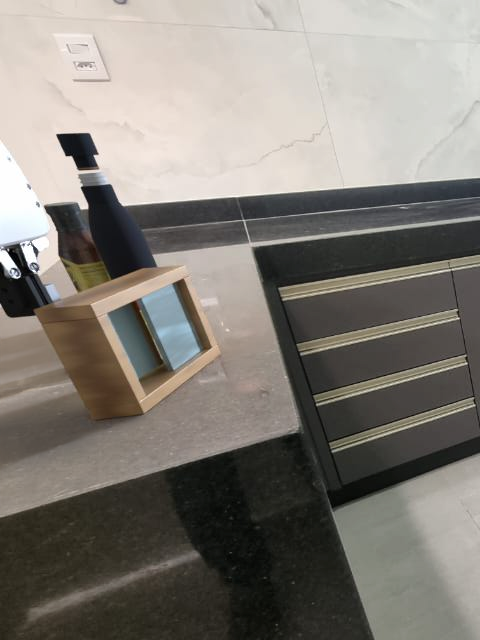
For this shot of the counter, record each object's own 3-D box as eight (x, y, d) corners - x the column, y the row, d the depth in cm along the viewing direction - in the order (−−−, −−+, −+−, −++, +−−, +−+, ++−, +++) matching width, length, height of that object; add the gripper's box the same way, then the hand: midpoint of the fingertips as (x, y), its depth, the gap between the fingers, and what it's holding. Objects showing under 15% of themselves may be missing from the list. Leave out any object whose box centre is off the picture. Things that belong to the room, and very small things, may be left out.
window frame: (92, 420, 59) (32, 309, 53) (181, 358, 75) (142, 268, 69) (144, 414, 60) (90, 304, 54) (221, 353, 76) (185, 264, 70)
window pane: (87, 393, 61) (31, 287, 56) (129, 367, 68) (82, 270, 62) (126, 388, 62) (74, 283, 57) (164, 363, 68) (120, 267, 63)
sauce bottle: (101, 315, 96) (46, 202, 88) (144, 309, 98) (94, 199, 90) (84, 325, 91) (24, 206, 82) (130, 319, 93) (76, 203, 85)
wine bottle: (145, 323, 90) (59, 133, 78) (121, 321, 92) (33, 134, 80) (185, 311, 96) (110, 132, 83) (161, 309, 98) (85, 133, 85)
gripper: (-43, 124, 54) (48, 297, 61) (-231, 122, 40) (-85, 344, 48) (43, 121, 55) (122, 291, 62) (-111, 118, 42) (13, 334, 49)
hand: (32, 313), depth 55 cm, fingers closed
